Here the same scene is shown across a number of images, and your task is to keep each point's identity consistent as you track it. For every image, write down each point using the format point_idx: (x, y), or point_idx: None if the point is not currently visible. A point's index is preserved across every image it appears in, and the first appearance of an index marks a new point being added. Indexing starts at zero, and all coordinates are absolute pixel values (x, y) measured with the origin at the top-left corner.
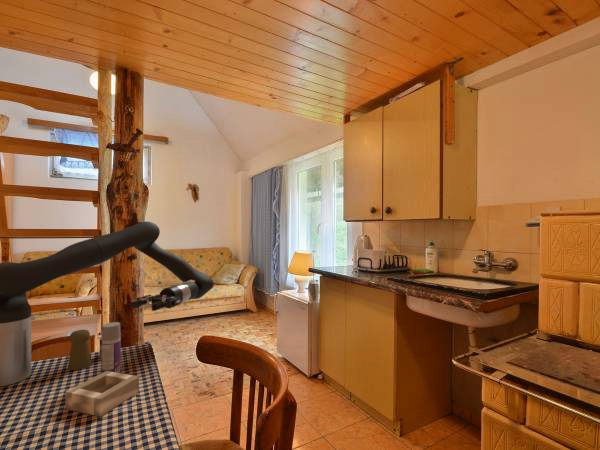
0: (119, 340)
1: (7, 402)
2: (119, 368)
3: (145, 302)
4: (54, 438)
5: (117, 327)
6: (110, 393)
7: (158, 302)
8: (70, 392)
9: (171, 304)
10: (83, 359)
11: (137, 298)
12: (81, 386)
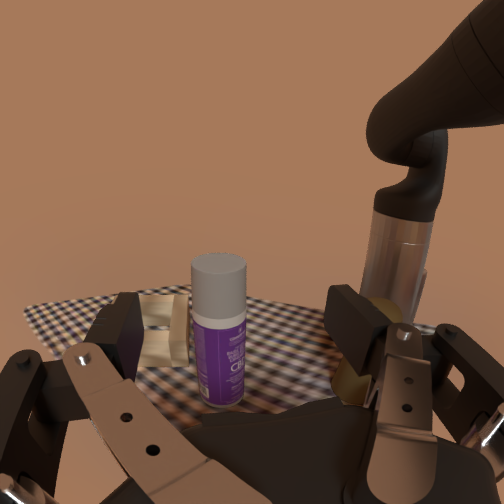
0: (193, 317)
1: (290, 305)
2: (200, 386)
3: (454, 426)
4: (143, 294)
5: (191, 270)
6: (111, 303)
7: (111, 322)
8: (177, 295)
9: (46, 455)
10: (339, 368)
11: (444, 327)
12: (177, 304)
